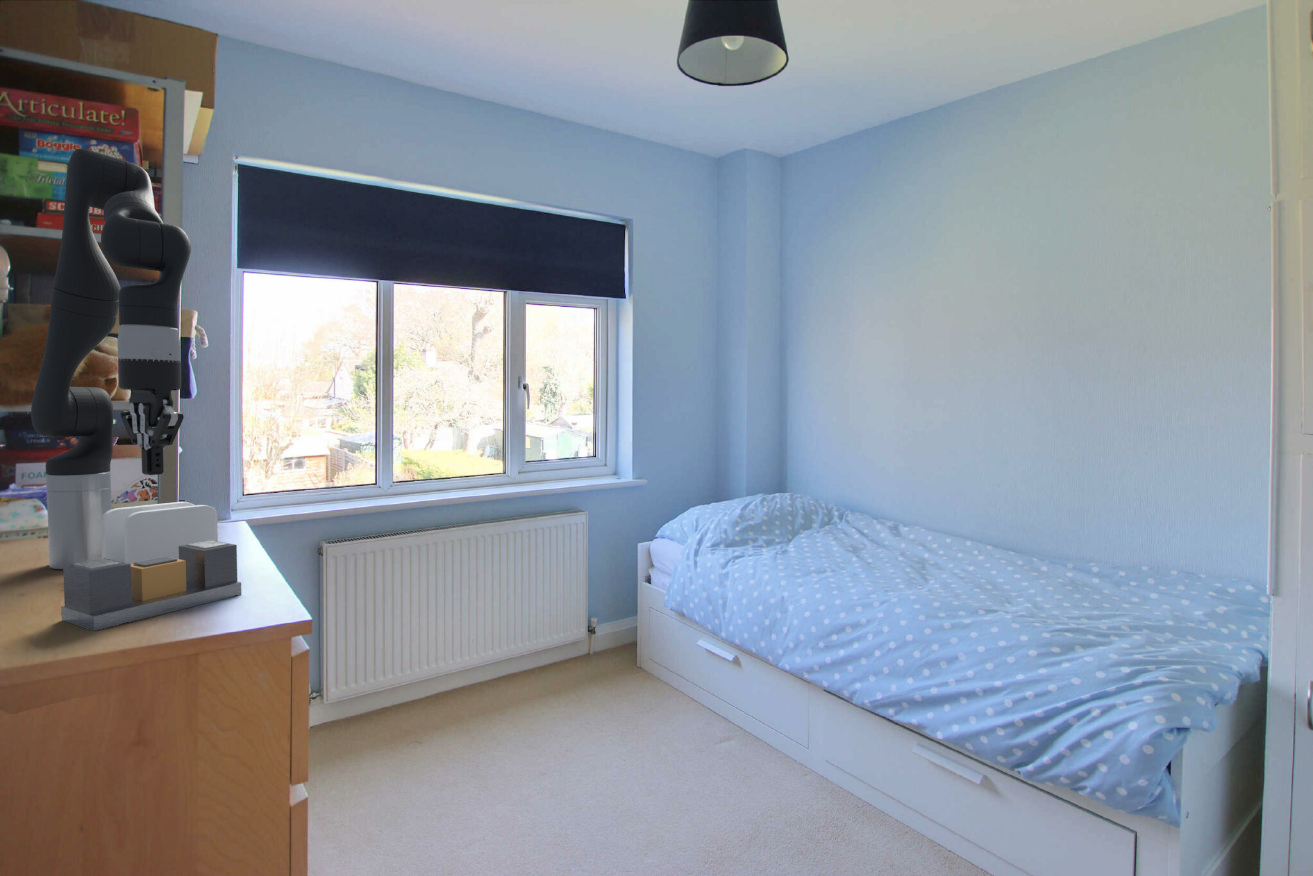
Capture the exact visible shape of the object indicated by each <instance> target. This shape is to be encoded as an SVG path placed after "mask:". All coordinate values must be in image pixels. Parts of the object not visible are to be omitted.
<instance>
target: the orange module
mask: <svg viewBox="0 0 1313 876" xmlns="http://www.w3.org/2000/svg"><path fill="white" fill-rule="evenodd" d="M183 591H186V561H185V560H180V559H175V558H170V557H163V558H157V559H152V560H146V561H141V562H135V563H134V564H131V592H132V598H134V599H138V600H142V601H144V600H148V599H153V598H157V597H162V596H166V595H170V594H175V593H179V592H183Z"/></svg>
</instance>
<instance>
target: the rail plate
mask: <svg viewBox="0 0 1313 876" xmlns="http://www.w3.org/2000/svg"><path fill="white" fill-rule="evenodd" d="M237 549H238V546H237V544H233V543H229V542H222V541H219V540H218V541H212V540H210V541H204V542H198V543H192V544H186V545H180V546H179V559H180V560H185V561H186V591H183V592H179V593H175V594H170V595H166V596H162V597H157V598H153V599H148V600H144V601H142V600H138V599H134V598H132V592H131V564H128V563H124V562H119V561H115V560H110V559H106V558H104V559H98V560H92V561H87V562H81V563H75V564H69V565H63V569H62V572H63V574H62V575H63V596H64V597H63V598H64V605H62V606H60V607H61V608H60V609H61V610H60V611H61V612H60V613H61V621H62V622H65V623H69V624H71V625H74V626H78V627H80V628H84V629H87V630H90V631H93V632H96V631H100V630H104V629H108V628H111V627H110V626H113V627H116V626H115V625H117V624H121V625H123V624H122V623H125V622H129V623H131V622H130V621H133V620H137V621H140V619H141V620H144V619H148V617H149V618H153V617H157V616H160V615H161V616H162V615H165V614H168V613H172V612H176V611H180V610H184V609H188V608H192V607H197V606H201V605H204V604H210V603H213V602H216V601H221V600H224V599H225V600H226V599H229V598H233V596H234V597H236V596H235V595H238V596H241V595H242V582H241V581H238V551H237ZM240 594H241V595H240ZM133 622H134V621H133ZM125 624H126V623H125ZM117 626H118V625H117ZM107 627H108V628H107ZM103 628H104V629H103ZM99 629H100V630H99Z"/></svg>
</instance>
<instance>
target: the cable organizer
mask: <svg viewBox="0 0 1313 876" xmlns="http://www.w3.org/2000/svg"><path fill="white" fill-rule="evenodd" d="M218 526H219V525H218V511H217V510H216V509H215V507H213V506H210V505H208V504H207V505H206V504H197V505H196V504H194V503H192V502H187V501H175V502H165V503H157V504H156V503H155V504H145V505H137V506H126V507H125V506H123V507H117V508H116V507H115V508H112V509H111V510H109V511H107V512H106V513H104V514H103V516H102V518H101V532H102V559H104V558H106V559H110V560H115V561H119V562H124V563H128V564H134V563H135V562H141V561H146V560H152V559H157V558H163V557H170V558H175V559H179V546H180V545H186V544H192V543H198V542H204V541H210V540H212V541H218V542H219V537H218V536H219V533H218V528H219V527H218Z"/></svg>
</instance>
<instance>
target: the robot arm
mask: <svg viewBox="0 0 1313 876" xmlns="http://www.w3.org/2000/svg"><path fill="white" fill-rule="evenodd" d="M65 179H66V180H65V190H64V191H65V193H64V204H63V205H64V207H63V221H62V232H61V233H62V234H61V242H60V247H59V255H58V259H57V265H56V271H55V276H54V279H53V280H54V281H53V287H52V292H51V298H50V299H51V300H50V306H49V307H50V308H49V320H48V326H47V335H46V341H45V345H44V346H45V347H44V348H45V349H44V352H43V358H42V361H41V364H40V369H39V372H38V376H37V380H36V384H35V388H34V392H33V396H32V401H31V407H30V409H31V410H30V416H31V417H30V419H31V424H32V426H33V429H34V431H35V432H36V433H37V434H38V435H40V436H41V437H45V438H68V437H69V438H70V437H79V439H78V442H77V444H76V445H75V446H73V447H72V448H71V449H69V450H67V451H65V452H63V453H59V454H57V455H54V456H51V457H49V458H47V460H46V462H45V480H46V481H45V485H46V486H45V487H46V507H47V508H46V509H47V531H48V535H47V537H48V560H49V563H48V564H49V566H48V567H49V568H50V569H53V570H63V565H69V564H75V563H81V562H87V561H92V560H98V559H102V532H101V518H102V516H103V514H104V513H106V512H107V511H109V510H111V509H113V507H112V506H113V505H112V480H111V478H112V477H111V475H112V473H111V462H112V458H113V453H114V452H113V449H114V448H113V447H114V446H113V443H114V441H113V440H114V439H113V438H114V418H115V416H114V405H113V402H112V398H111V396H110V394H109V393H108V391H106V390H105V389H103V388H100V387H92V386H90V387H89V386H71V385H72V381H73V378H74V376H75V374H76V371H77V369H78V368H79V366H80V364H81V363H82V362H83V361H84V359H85V358H86V357H87V356H89V354H90V353H91V352H92V351H93V350H94V349H95V348H97V346H98V345H99V344H101V343H102V342H103V341H104V340H105V338H106V337H107V336H109V334H110V333H111V331H112V330H113V328H115V326H116V324H117V318H118V325H119V326H118V334H117V341H116V343H117V344H116V346H117V378H118V381H117V382H118V383H117V384H118V387H119V389H121V390H127V391H128V390H129V391H130V397H129V399H128V404H129V408H128V410H121V411H120V414H119V416H120V418H121V422H122V423H123V426H124V428H125V431H126V432H127V435H128V437H129V440H130V442H131V444H132V445H137V447H138V449H139V450H140V451H141V473H142V475H144V476H145V475H146V476H157V475H162V474H163V473H164V450H165V449H166V448H167V446H173V445H174V444H173V443H174V442H175V439H176V437H177V435H178V432H179V431H180V430H179V429H180V427H181V426H182V423H183V421H184V418H185V417H184V413H183V412H176V411H175V410H174V399H173V396H172V392H173V391H179V390H181V389H182V360H181V359H182V356H181V353H182V352H181V351H182V350H181V340H180V334H179V313H178V312H179V311H178V310H179V309H178V305H179V304H178V302H179V294H180V289H181V285H182V280H183V278H184V274H185V272H186V269H187V266H188V263H189V260H190V257H191V253H192V252H191V251H192V244H191V241H190V237H188V234H187V233H186V232H185V231H184V229H182V228H181V227H179V226H177V225H174V224H169V223H164V222H163V220H162V218H161V217H160V215H159V213H158V212H157V210H156V209H155V200H154V199H155V198H154V192H153V187H152V181H151V178H150V176H149V174H148V173H147V171H146V170H145V169H144V168H143V167H141V166H140V165H138V164H136V163H133V162H130V161H128V160H123V159H120V158H116V157H114V156H110V155H108V154H104V153H101V152H97V151H93V150H89V149H86V148H77V149H75V150H73V152H72V153H71V156H70V158H69V161H68V163H67V170H66V178H65ZM90 208H93V209H94V208H95V209H97V210H102V211H103V212H102V216H103V220H104V225H103V227H102V230H101V234H100V245H101V248H100V246H99V244H98V241H97V239H96V237H95V235H94V232H93V228H92V225H91V222H90V221H91V220H90V214H89V213H90V212H89V211H90ZM108 261H109V262H111V263H113V264H115V265H116V266H120V267H123V268H130V269H137V270H138V269H139V270H147V271H154V272H155V271H157V272H160V277H159V279H158V280H157V281H155V282H152V283H151V282H150V283H140V284H130V285H125V286H122V287H121V285H120V283H119V280H118V278H117V276H116V273H115V272H114V270H113V268H112V267H111V265H110V264H109V262H108Z"/></svg>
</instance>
